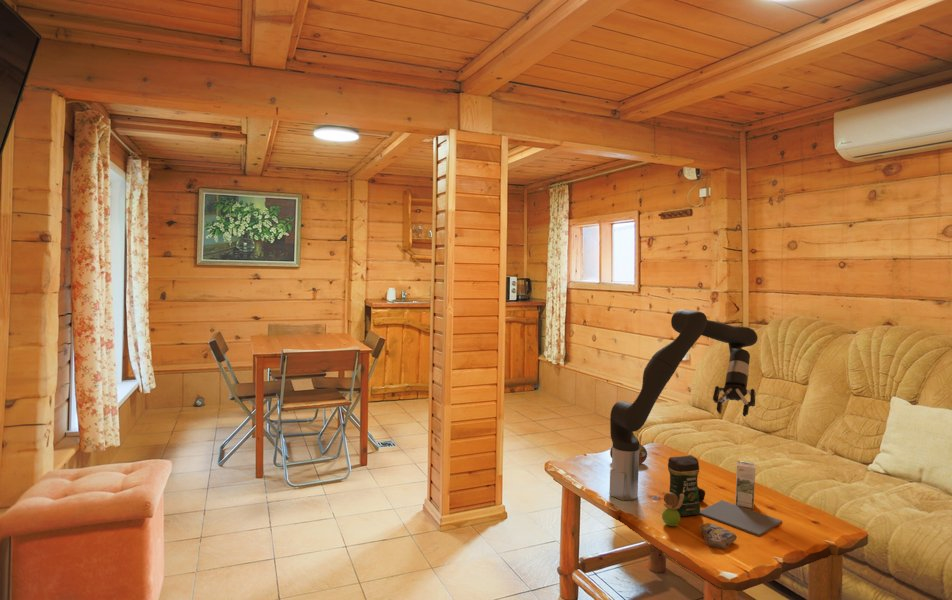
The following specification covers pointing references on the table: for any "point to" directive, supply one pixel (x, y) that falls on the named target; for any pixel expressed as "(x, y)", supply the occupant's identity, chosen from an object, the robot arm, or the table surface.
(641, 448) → the tin
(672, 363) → the robot arm
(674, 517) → the snail figurine
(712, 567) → the table surface
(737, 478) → the syrup box
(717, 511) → the charcoal mat
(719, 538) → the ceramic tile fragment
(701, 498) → the hand tool
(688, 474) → the coffee jar
